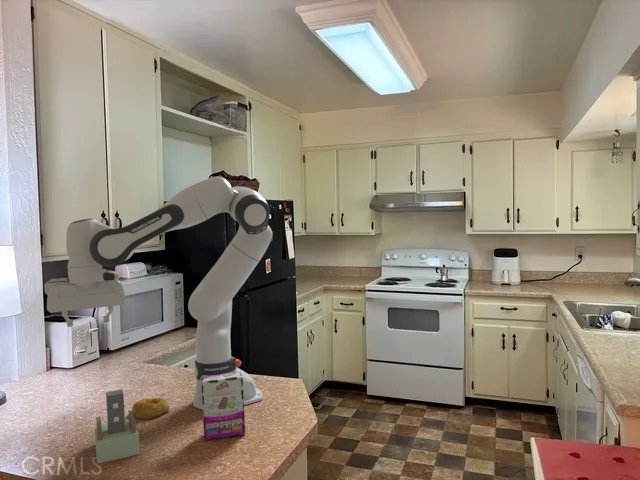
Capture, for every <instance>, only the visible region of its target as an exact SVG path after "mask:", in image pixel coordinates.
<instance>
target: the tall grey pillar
mask: <svg viewBox="0 0 640 480" xmlns="http://www.w3.org/2000/svg"><path fill="white" fill-rule="evenodd" d="M105 399H106V400H105V402H106V403H105V404H106V418H107V419H106V422H107V424H108V434H114V433H119V432H124V431H125V420H126V418H125V397H124V391H123V389H117V390H110V391H106V392H105Z"/></svg>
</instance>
